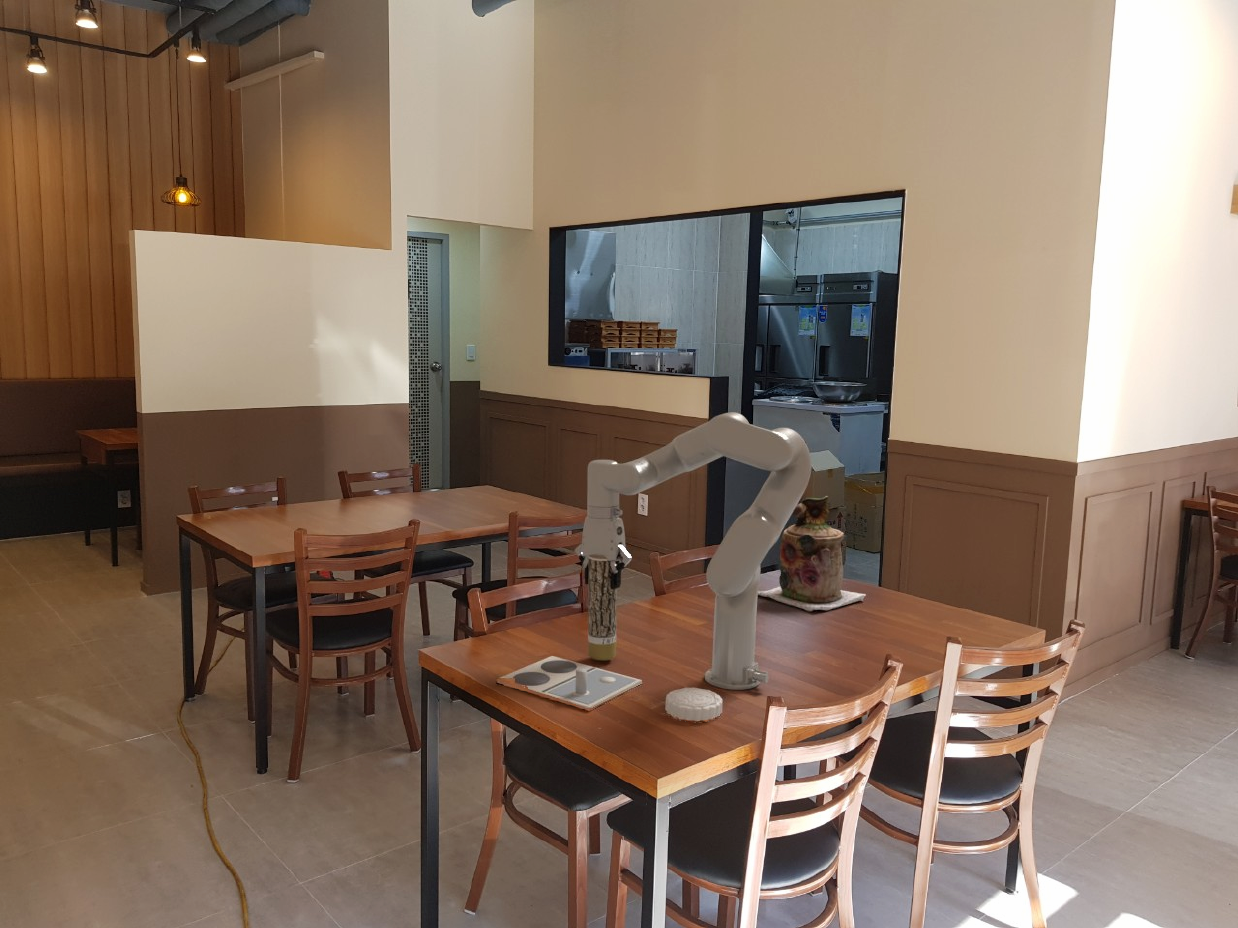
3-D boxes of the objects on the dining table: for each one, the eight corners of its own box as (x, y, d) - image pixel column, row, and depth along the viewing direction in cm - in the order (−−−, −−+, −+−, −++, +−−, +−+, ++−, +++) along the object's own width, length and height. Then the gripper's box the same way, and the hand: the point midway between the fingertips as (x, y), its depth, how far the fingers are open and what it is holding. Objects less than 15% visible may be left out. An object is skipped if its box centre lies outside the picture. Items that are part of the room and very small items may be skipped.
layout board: (642, 684, 217) (642, 658, 216) (589, 711, 201) (590, 683, 200) (552, 659, 232) (552, 635, 231) (496, 683, 215) (496, 657, 214)
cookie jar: (804, 583, 309) (809, 485, 304) (868, 601, 290) (874, 497, 286) (752, 595, 293) (756, 492, 289) (816, 615, 274) (822, 505, 270)
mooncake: (654, 714, 201) (655, 697, 200) (683, 697, 211) (683, 681, 210) (705, 728, 194) (705, 711, 194) (732, 710, 204) (732, 693, 204)
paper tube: (582, 658, 230) (583, 556, 227) (596, 650, 236) (597, 551, 233) (607, 663, 227) (608, 559, 224) (621, 654, 233) (622, 554, 230)
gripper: (642, 514, 225) (641, 588, 228) (583, 506, 235) (582, 577, 238) (624, 518, 219) (623, 594, 222) (564, 510, 229) (564, 583, 231)
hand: (602, 585), depth 230 cm, fingers closed on paper tube, 6 cm apart
